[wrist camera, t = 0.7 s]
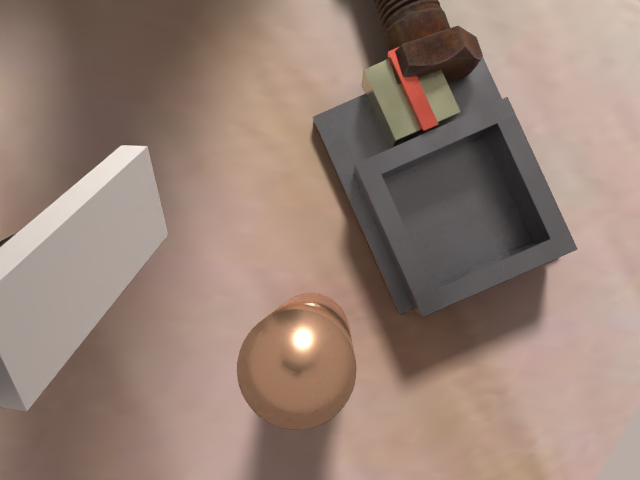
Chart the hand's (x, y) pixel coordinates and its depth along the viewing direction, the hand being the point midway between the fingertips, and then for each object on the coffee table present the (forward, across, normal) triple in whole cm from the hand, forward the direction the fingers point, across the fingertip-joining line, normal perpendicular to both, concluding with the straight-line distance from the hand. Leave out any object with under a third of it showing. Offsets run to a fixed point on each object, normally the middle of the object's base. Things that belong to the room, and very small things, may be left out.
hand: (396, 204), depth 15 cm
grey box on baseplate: (+18, 0, -9) cm, 20 cm away
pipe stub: (+12, -6, -15) cm, 20 cm away
